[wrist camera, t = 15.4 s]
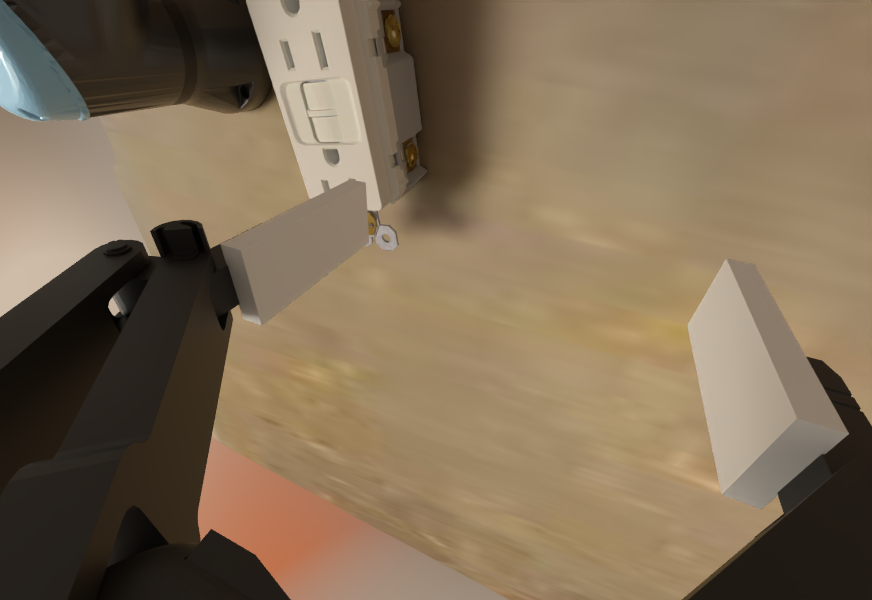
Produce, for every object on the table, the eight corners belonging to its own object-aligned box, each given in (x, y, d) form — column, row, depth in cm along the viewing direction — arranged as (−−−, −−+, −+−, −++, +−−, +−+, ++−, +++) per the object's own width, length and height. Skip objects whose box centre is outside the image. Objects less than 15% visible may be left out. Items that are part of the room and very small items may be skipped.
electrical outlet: (401, -111, 30) (328, -145, 23) (440, 219, 47) (405, 259, 40) (289, -77, 35) (198, -96, 27) (361, 214, 51) (316, 249, 44)
